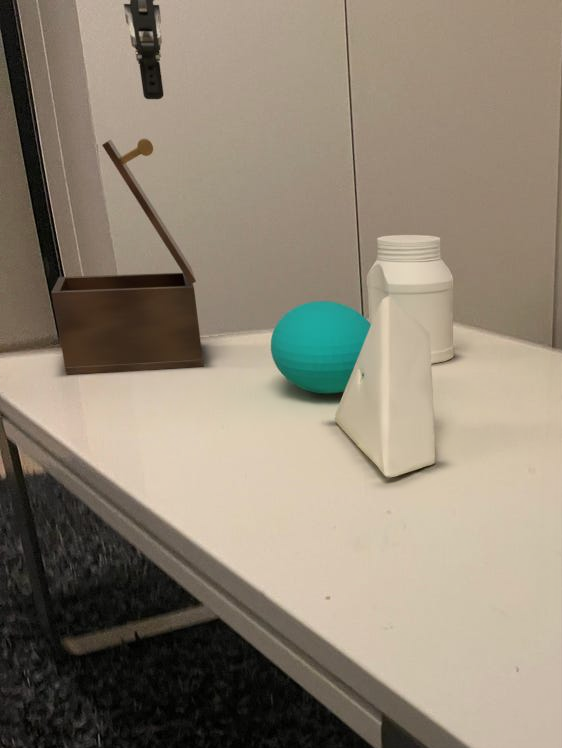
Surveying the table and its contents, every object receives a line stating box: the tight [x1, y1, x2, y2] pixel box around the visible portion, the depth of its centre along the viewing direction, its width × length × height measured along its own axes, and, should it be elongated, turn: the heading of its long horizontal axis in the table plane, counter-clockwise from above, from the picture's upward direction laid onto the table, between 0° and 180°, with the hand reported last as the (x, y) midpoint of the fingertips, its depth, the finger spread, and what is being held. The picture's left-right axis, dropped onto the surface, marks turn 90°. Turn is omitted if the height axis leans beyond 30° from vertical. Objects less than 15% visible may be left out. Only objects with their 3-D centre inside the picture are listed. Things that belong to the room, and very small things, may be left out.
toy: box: [270, 300, 371, 395], centre depth 116 cm, size 18×13×10 cm
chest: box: [50, 272, 205, 376], centre depth 130 cm, size 17×14×10 cm
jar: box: [366, 234, 455, 365], centre depth 132 cm, size 12×10×15 cm
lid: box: [101, 138, 197, 285], centre depth 125 cm, size 18×14×5 cm
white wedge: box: [334, 297, 436, 478], centre depth 95 cm, size 15×6×20 cm
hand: (153, 98), depth 120 cm, fingers open, 8 cm apart
